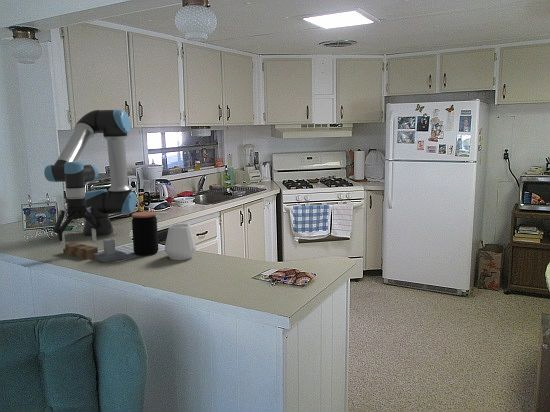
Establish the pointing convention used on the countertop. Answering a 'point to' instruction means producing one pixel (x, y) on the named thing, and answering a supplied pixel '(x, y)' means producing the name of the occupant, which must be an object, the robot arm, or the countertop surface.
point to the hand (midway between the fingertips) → (79, 245)
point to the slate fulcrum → (109, 252)
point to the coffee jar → (145, 233)
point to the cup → (180, 242)
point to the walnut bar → (80, 250)
